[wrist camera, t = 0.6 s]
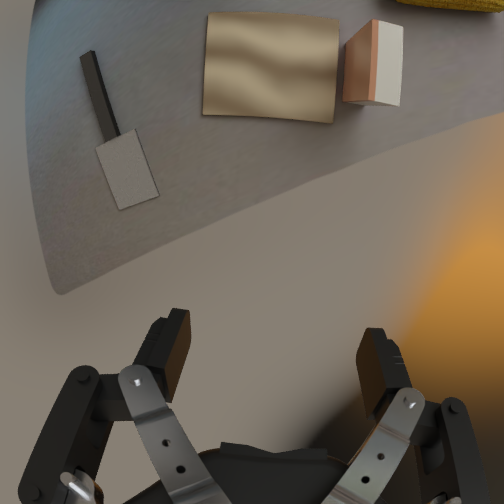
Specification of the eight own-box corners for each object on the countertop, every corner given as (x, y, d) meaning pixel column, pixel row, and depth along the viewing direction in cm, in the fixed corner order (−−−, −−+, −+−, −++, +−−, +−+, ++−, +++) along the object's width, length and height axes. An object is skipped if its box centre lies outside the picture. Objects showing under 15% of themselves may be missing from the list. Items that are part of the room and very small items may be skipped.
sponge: (345, 43, 30) (372, 18, 20) (368, 47, 30) (403, 26, 19) (342, 101, 34) (368, 99, 23) (365, 105, 34) (399, 106, 23)
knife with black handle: (71, 66, 33) (66, 65, 32) (108, 42, 32) (104, 41, 31) (120, 209, 43) (116, 211, 42) (160, 194, 41) (156, 197, 40)
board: (209, 13, 30) (208, 12, 29) (338, 21, 29) (339, 20, 28) (203, 114, 36) (202, 114, 36) (332, 123, 35) (332, 123, 35)
